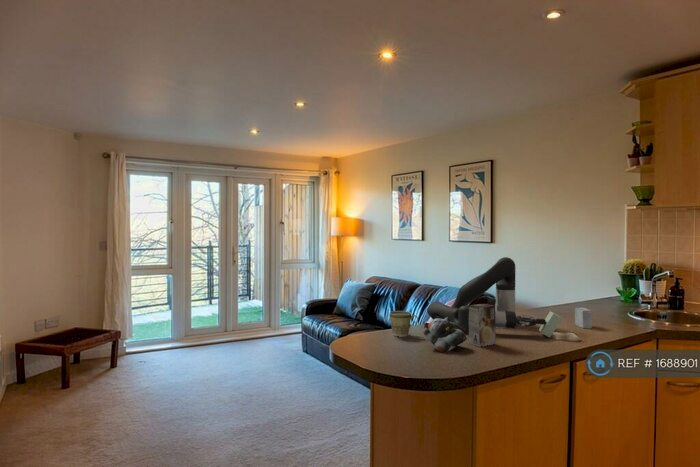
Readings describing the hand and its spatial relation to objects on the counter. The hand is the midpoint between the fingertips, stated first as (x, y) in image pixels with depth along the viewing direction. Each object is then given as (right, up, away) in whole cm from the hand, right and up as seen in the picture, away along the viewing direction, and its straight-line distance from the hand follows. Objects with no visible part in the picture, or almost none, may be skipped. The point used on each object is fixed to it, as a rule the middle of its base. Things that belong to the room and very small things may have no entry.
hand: (545, 321), depth 191 cm
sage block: (0, -6, +1) cm, 6 cm away
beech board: (+8, -6, -1) cm, 10 cm away
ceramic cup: (-62, -7, +2) cm, 63 cm away
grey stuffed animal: (-49, -7, -19) cm, 53 cm away
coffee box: (-32, -7, -13) cm, 35 cm away
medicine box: (+27, -7, +19) cm, 34 cm away
